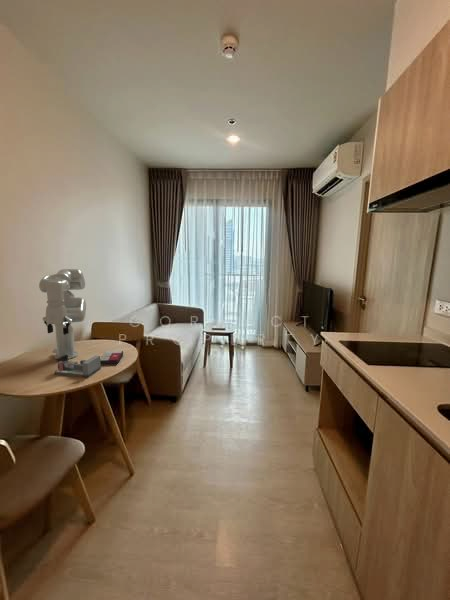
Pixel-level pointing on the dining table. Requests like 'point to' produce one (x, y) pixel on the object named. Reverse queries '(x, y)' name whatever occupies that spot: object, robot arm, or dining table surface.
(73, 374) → the gauge housing
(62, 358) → the plunger
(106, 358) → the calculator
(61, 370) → the drag pointer
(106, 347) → the dining table surface
